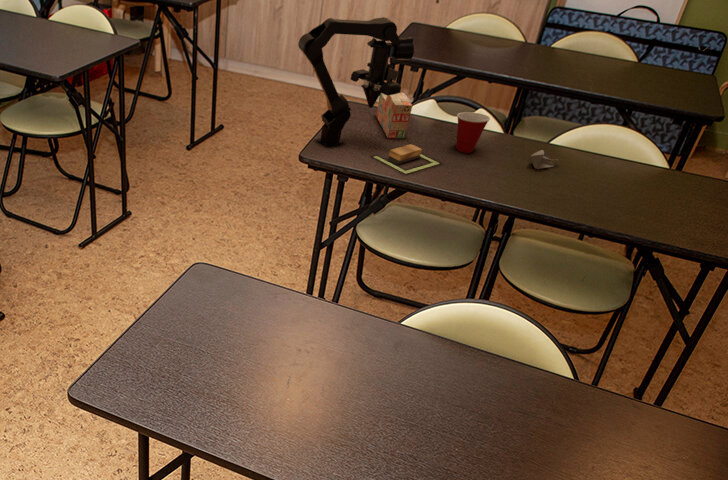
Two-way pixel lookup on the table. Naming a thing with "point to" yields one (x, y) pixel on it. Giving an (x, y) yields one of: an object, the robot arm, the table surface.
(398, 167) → the tape box
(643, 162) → the table surface
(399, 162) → the chalkboard eraser
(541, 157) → the paper boat
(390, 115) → the tan printed boxy piece
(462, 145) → the plastic cup
